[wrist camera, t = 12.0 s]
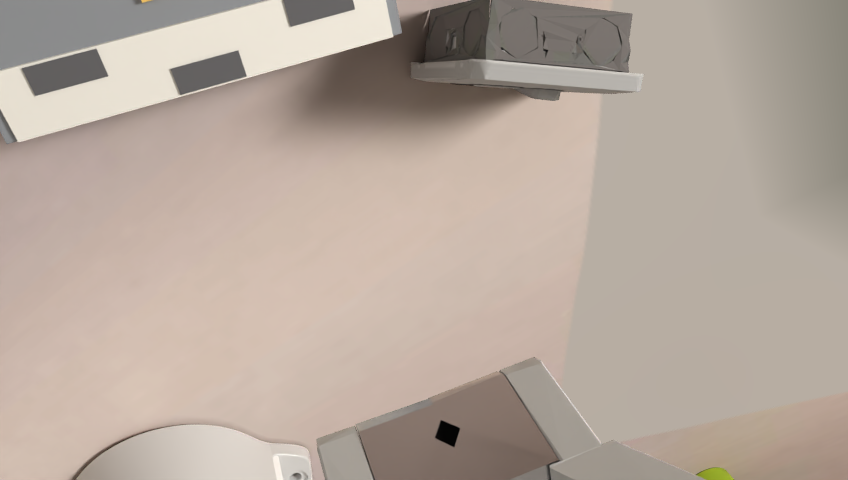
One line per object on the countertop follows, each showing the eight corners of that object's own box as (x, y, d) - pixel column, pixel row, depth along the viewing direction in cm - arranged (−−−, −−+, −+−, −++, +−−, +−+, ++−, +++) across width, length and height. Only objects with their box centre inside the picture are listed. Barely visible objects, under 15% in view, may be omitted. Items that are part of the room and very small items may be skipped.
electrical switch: (403, 76, 40) (467, 117, 32) (415, -21, 38) (486, -3, 30) (548, 88, 43) (638, 127, 35) (565, -1, 41) (665, 19, 34)
